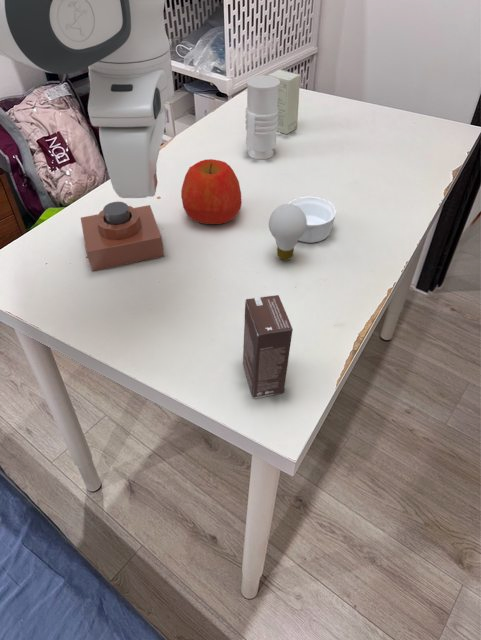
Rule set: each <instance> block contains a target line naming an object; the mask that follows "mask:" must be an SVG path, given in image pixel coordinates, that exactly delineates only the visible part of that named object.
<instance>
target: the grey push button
mask: <svg viewBox="0 0 481 640" xmlns="http://www.w3.org/2000/svg"><path fill="white" fill-rule="evenodd" d="M128 206H129V205H128V203H126V202H123V201H112V202H109V203H107V204H106V205H104V207H103V209H102V210H103V212H104V216H105V220H106V222H107V224H110V225H120V224H124V223H126V222H128V221H129V220H130V213H129V208H128Z"/></svg>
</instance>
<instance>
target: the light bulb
mask: <svg viewBox="0 0 481 640" xmlns="http://www.w3.org/2000/svg"><path fill="white" fill-rule="evenodd" d="M306 225H307V220H306V216H305V214H304V212H303V211H302V210H301V209H300V208H299V207H298V206H296V205H293V204H288V203H283V204H281V205H279V206H277V207H276V208H275V209H274V210H273V211H272V212H271V214H270V216H269V220H268V228H269V231H270V233H271V236H272V237H273V238H274V240H275V243H276V247H277V248H276V255H277V257H278V258H279V259H281V260H283V261H286V260H290V259H292V258H293V256H294V250H295V247H296V245H297V242H298V239H299V238H300V237H301V236H302V235H303V234H304V232H305V230H306Z"/></svg>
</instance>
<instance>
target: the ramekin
mask: <svg viewBox="0 0 481 640" xmlns="http://www.w3.org/2000/svg"><path fill="white" fill-rule="evenodd" d="M287 204H293V205H296V206H298V207H299V208H300V209H301V210H302V211H303V212H304V214H305V216H306V220H307V225H306V230H305V232H304V234H303V235H302V236H301V237H300V238H299V239H298V241H299V242H301V243H302V242H303V243H310V244H312V243H318V242H321V241H323V240H326V239H327V238H328V237H329V236H330V235H331V233H332V228H333V225H334V221H335V219H336V217H337V207H335V204H333V203H332V202H331V201H329V200H328V199H325V198H323V197H318V196H311V195H310V196H309V195H306V196H300V197H295V198H293V199H291V200H290V201H288V202H287ZM298 241H297V242H298Z"/></svg>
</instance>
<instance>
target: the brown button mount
mask: <svg viewBox="0 0 481 640" xmlns="http://www.w3.org/2000/svg"><path fill="white" fill-rule="evenodd" d="M128 208H129V213H130V220H129V221H128V222H126V223H124V224H120V225H110V224H107V222H106V220H105V216H104V212H103V209H102V210H100V212H99V213H98V214H92V215H87V216H81V217H80V222H81V228H82V235H83V241H84V247H85V251H86V256H87V258H88V262H89V265H90V268H91V271H92V272H95V271H101V270H104V269H109V268H114V267H118V266H123V265H128V264H134V263H139V262H143V261H149V260H153V259H158V258H162V257H165V250H164V244H163V237H162V235H161V232H160V229H159V227H158V223H157V221H156V218H155V215H154V212H153V209H152V207H151V205H150V204H148V205H141V206H137V207H134V206H132V205H128Z"/></svg>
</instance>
